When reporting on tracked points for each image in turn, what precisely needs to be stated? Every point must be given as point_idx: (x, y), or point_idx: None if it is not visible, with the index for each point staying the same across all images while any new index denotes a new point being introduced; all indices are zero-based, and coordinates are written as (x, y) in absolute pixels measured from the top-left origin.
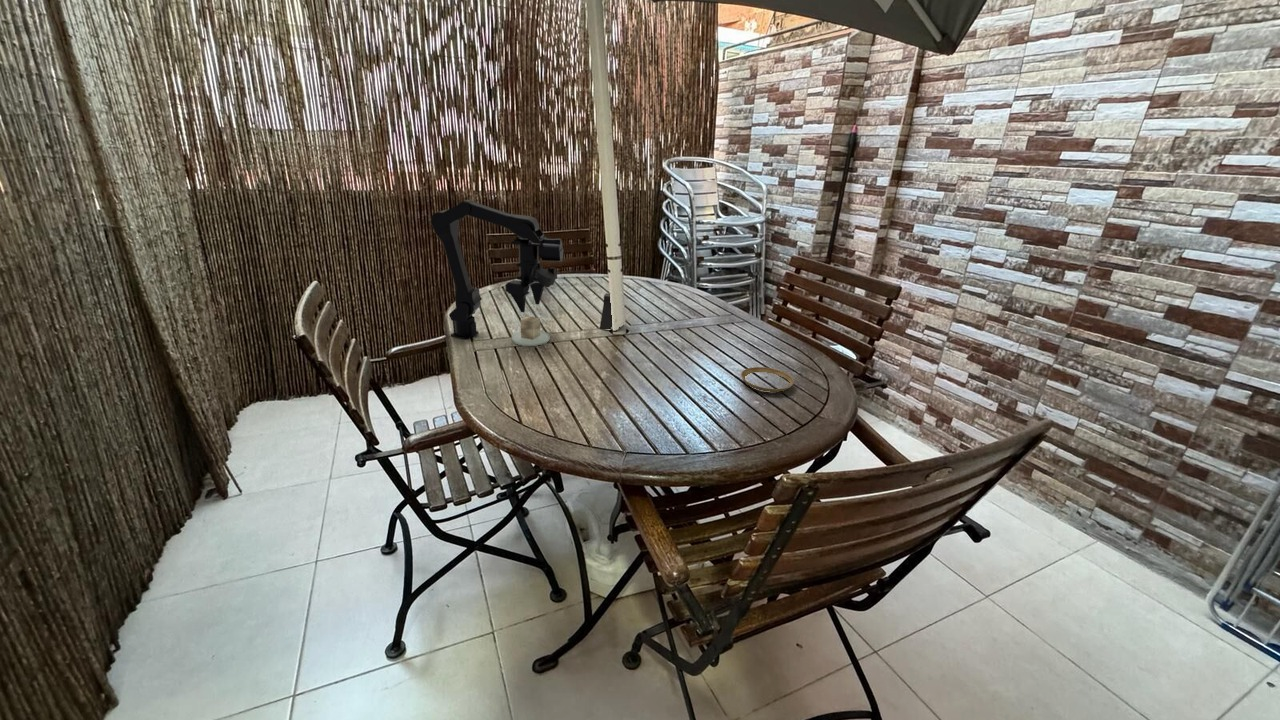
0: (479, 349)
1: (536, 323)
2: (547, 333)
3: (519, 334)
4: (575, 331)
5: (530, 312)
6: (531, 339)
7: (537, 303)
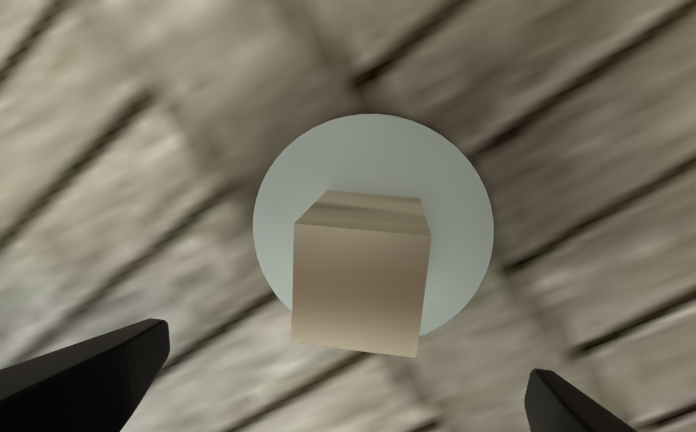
0: None
1: (365, 220)
2: (275, 161)
3: None
4: (110, 27)
5: None
6: None
7: (161, 338)
